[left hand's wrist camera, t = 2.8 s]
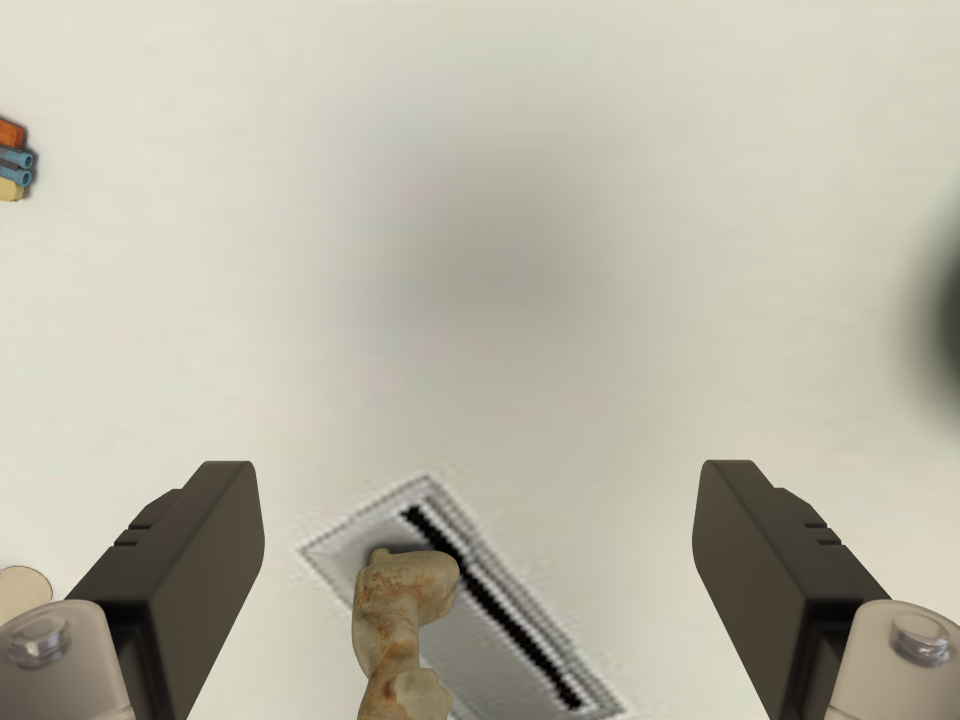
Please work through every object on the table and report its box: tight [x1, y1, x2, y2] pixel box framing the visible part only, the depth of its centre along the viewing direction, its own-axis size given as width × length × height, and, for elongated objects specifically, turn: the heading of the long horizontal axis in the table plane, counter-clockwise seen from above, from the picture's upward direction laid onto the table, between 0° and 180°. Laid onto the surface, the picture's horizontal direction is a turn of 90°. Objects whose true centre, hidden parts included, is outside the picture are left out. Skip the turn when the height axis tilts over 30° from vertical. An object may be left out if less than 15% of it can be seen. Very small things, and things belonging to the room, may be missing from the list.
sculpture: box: [352, 548, 459, 720], centre depth 40 cm, size 6×7×15 cm
